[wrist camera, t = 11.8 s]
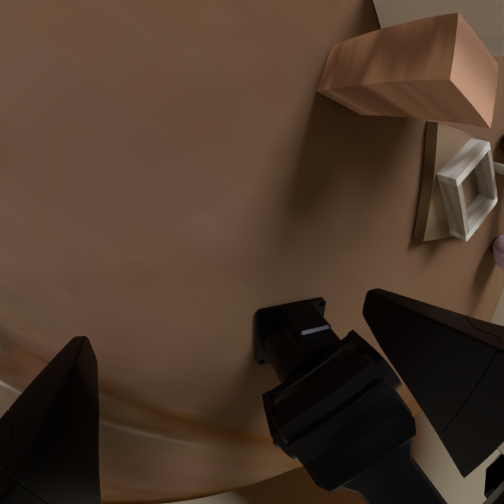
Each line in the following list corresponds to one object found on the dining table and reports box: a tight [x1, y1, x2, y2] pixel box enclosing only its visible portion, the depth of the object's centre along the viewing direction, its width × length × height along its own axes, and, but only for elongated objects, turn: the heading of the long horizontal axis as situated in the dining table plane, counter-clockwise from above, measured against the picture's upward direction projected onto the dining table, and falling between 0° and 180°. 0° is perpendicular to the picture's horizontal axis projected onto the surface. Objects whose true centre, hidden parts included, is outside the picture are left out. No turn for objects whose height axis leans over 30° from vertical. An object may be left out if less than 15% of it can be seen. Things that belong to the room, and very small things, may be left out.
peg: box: [316, 13, 498, 128], centre depth 14 cm, size 4×4×12 cm
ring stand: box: [414, 121, 504, 242], centre depth 22 cm, size 12×12×10 cm
